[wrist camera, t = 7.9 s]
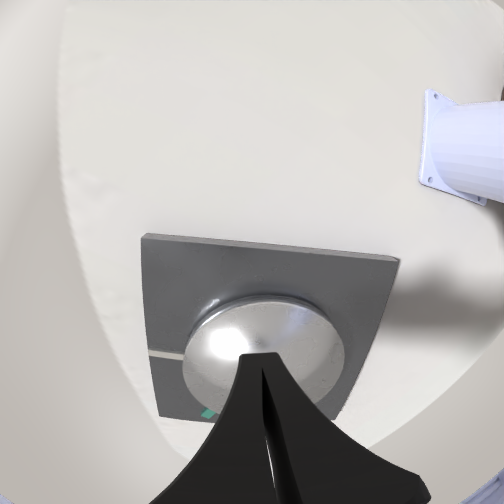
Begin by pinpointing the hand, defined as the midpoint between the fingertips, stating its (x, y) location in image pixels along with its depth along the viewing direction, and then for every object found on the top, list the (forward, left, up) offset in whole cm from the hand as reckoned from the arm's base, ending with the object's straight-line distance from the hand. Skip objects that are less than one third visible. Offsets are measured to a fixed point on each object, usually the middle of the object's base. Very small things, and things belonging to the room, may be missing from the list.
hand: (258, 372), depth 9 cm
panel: (-2, +7, -10) cm, 12 cm away
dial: (-2, +7, -9) cm, 11 cm away
